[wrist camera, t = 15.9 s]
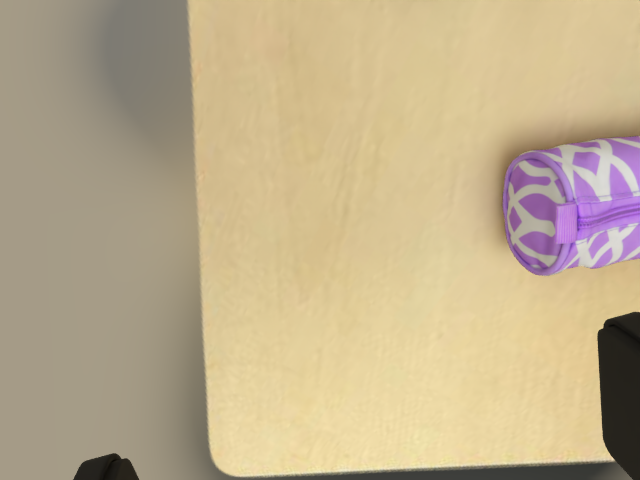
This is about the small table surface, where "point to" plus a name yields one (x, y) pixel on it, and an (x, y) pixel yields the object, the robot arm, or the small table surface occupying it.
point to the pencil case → (574, 205)
